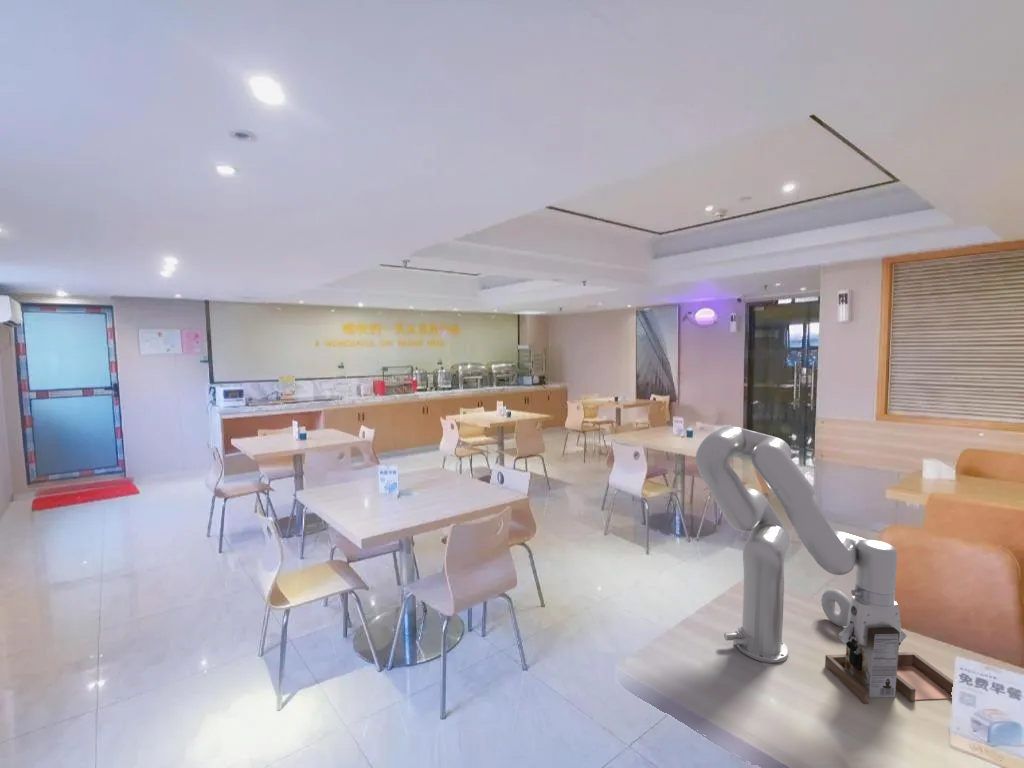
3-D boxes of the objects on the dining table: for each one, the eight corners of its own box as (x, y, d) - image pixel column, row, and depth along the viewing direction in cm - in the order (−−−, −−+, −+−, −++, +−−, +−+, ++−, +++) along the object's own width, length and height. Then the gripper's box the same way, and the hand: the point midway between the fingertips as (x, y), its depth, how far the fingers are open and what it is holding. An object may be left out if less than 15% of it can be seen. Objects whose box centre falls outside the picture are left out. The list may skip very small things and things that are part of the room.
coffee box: (843, 671, 123) (846, 609, 122) (869, 671, 123) (873, 609, 122) (869, 698, 114) (873, 631, 113) (897, 698, 114) (901, 631, 113)
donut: (857, 633, 139) (858, 598, 139) (846, 634, 139) (848, 600, 138) (827, 614, 149) (829, 582, 148) (817, 615, 148) (819, 583, 148)
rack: (863, 703, 112) (864, 691, 112) (825, 666, 125) (825, 655, 125) (961, 699, 113) (962, 687, 113) (912, 663, 126) (913, 651, 126)
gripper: (850, 603, 112) (846, 678, 114) (923, 601, 113) (919, 675, 115) (827, 587, 120) (824, 657, 121) (897, 585, 121) (892, 655, 122)
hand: (870, 665), depth 118 cm, fingers closed on coffee box, 6 cm apart
